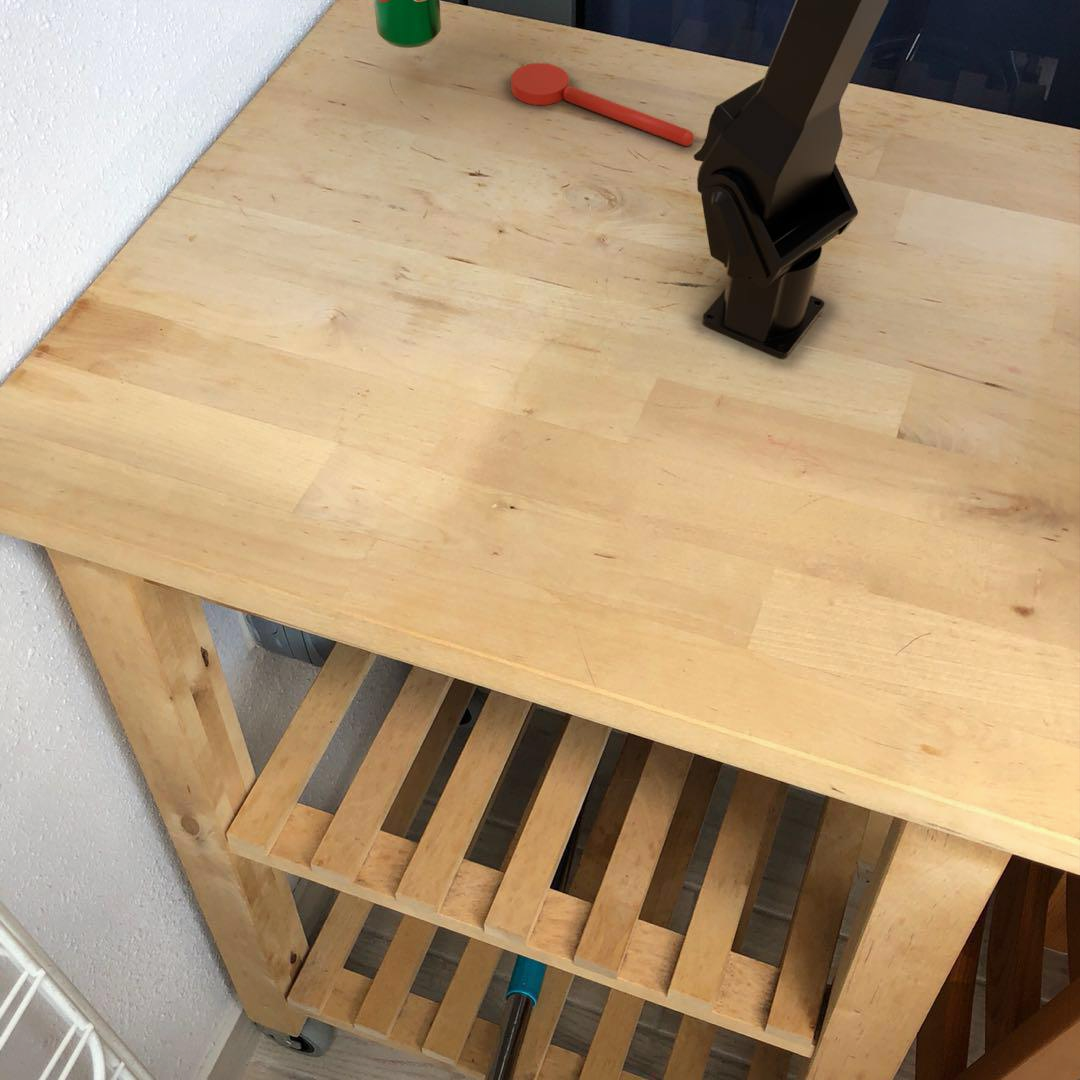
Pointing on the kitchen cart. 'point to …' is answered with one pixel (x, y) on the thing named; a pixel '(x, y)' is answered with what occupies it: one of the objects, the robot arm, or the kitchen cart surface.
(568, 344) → the kitchen cart surface
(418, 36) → the soda can
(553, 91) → the spoon
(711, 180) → the robot arm
